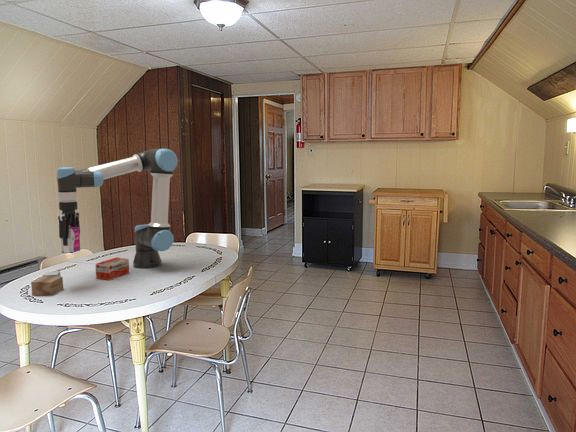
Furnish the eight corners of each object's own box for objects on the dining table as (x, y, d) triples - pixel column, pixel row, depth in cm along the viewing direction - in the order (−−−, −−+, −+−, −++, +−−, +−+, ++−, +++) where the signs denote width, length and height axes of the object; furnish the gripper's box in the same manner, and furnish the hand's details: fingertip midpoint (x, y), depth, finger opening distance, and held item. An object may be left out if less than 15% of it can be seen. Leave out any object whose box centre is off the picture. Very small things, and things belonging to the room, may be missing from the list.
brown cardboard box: (63, 289, 200) (62, 276, 199) (52, 295, 191) (51, 282, 190) (44, 289, 201) (43, 276, 200) (32, 295, 192) (31, 282, 191)
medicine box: (108, 280, 214) (107, 265, 213) (95, 279, 217) (94, 263, 216) (129, 273, 228) (129, 258, 227) (117, 271, 231) (116, 257, 230)
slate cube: (61, 283, 210) (60, 271, 209) (57, 287, 204) (56, 274, 203) (47, 284, 208) (46, 272, 207) (43, 288, 202) (42, 275, 202)
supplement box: (72, 253, 198) (71, 228, 196) (61, 252, 199) (59, 228, 198) (81, 250, 204) (79, 226, 202) (69, 250, 205) (68, 226, 203)
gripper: (71, 199, 208) (74, 246, 211) (47, 203, 189) (51, 255, 192) (86, 199, 208) (89, 246, 211) (64, 203, 189) (67, 255, 192)
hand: (71, 250), depth 201 cm, fingers closed on supplement box, 6 cm apart
